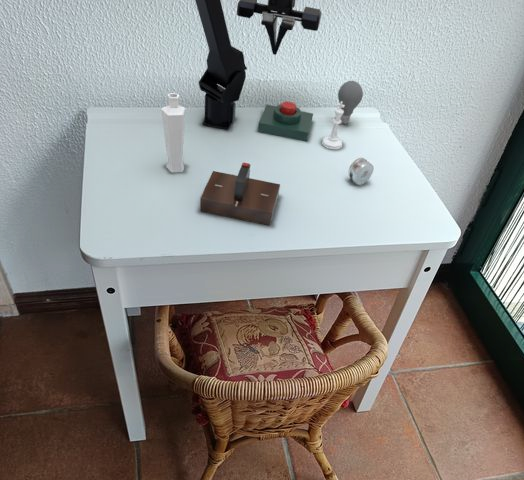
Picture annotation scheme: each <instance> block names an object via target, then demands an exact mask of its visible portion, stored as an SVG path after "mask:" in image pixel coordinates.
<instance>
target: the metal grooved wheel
mask: <svg viewBox="0 0 524 480" xmlns="http://www.w3.org/2000/svg"><path fill="white" fill-rule="evenodd" d="M373 173H374V165H373V164H372V163H371V162H370V161H368V159H366V158H364V157H359V158H356V159H355V160H353V161H352V162H351V164H350V165H349V167H348V170H347V176H348V178H349V179H350V180H351V181H353V182H354V183H355V184H356V185H357V186H361V185H364V184H366V183H367V182H368V181H369V180H370V179H371V177H372V176H373Z"/></svg>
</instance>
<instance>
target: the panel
mask: <svg viewBox="0 0 524 480" xmlns="http://www.w3.org/2000/svg"><path fill="white" fill-rule="evenodd" d="M237 176H238V175H237V174H236V175H235V174H232V173H226V172H221V171H215V170H213V171H212V172H211V174H210V176H209V179H208V181H207V183H206V185H205V187H204V189H203V192H202V194H201V195H200V198H199V199H200V205H199V209H200V210H199V211H200V212H201V213H207V214H210V215H211V214H212V215H217V216H222V217H227V218H231V219H236V220H240V221H241V220H242V221H246V222H252V223H256V224H261V225H266V226H271V224H272V221H273V217H274V215H275V210H276V207H277V203H278V199H279V194H280V188H281V184H280V183H275V182H271V181H266V180H262V179H261V180H260V179H256V178H250V177H249V183H248V186H247V189H246V191H245V194H244V197H243V200H242V201H241V200H236V199H234V193H235V181H236V178H237Z"/></svg>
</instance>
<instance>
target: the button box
mask: <svg viewBox="0 0 524 480" xmlns="http://www.w3.org/2000/svg"><path fill="white" fill-rule="evenodd" d="M281 104H282V103H280V104H278V105H271V104H265V106H264V108H263V112H262V114H261V116H260V119H259V122H258V128H257V129H258V130H257V132H259V133H263V134H268V135H273V136H279V137H283V138H289V139H292V140H293V139H294V140H299V141H304V142H308V139H309V135H310V132H311V131H310V130H311V127H312V122H313V117H314V113H312V112H307V111H303V110H301V109H300V107H297V106H296V111H295V114H294V115H286V114H283V113H281V112H280V110H281Z"/></svg>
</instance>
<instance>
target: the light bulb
mask: <svg viewBox="0 0 524 480" xmlns="http://www.w3.org/2000/svg"><path fill="white" fill-rule="evenodd" d="M363 96H364V91H363V88H362V85H361V84H360V83H359V82H357V81H355V80H347V81H345V82H344V83H343V84H342V85H341V86H340V87H339V89H338V92H337V100H338V104H340V102H342V105H345V106H344V108H342V107H341V109H342V110H343V111H344V113H343V115H342V116H341V118H340V120H341V121H342V123H341V124H343V125H345V124H349V123H350V119H351V116H352V114H354V110H356V108H357V107H358V105H360V104H361V102H362V100H363Z"/></svg>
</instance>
